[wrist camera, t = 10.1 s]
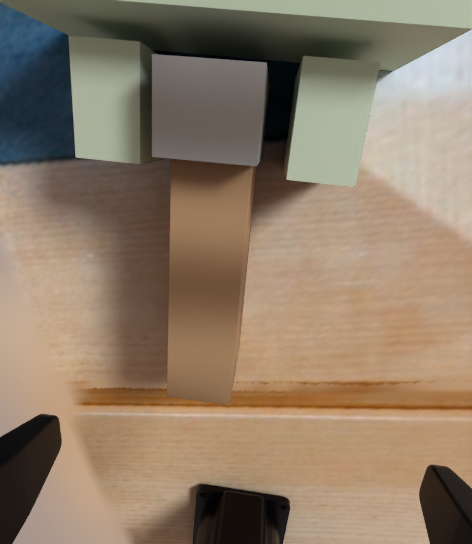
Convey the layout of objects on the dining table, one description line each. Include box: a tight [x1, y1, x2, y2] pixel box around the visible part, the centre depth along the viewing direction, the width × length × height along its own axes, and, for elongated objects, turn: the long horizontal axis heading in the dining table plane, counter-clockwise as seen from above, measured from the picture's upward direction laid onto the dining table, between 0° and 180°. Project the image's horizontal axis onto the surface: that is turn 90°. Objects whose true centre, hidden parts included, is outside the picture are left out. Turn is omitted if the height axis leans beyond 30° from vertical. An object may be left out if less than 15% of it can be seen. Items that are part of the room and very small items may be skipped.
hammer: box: [152, 54, 270, 405], centre depth 17 cm, size 14×4×6 cm, turn 175°
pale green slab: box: [0, 0, 472, 187], centre depth 14 cm, size 6×14×7 cm, turn 85°
